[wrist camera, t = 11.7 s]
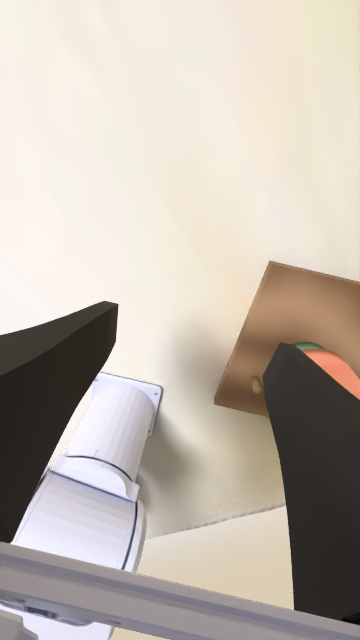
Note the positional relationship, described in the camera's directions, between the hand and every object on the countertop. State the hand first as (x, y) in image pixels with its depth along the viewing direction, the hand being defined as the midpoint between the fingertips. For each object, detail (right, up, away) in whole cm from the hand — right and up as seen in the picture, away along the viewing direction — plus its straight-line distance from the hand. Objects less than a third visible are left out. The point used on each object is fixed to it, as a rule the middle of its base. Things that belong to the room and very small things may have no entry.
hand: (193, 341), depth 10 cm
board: (+11, -2, +12) cm, 16 cm away
